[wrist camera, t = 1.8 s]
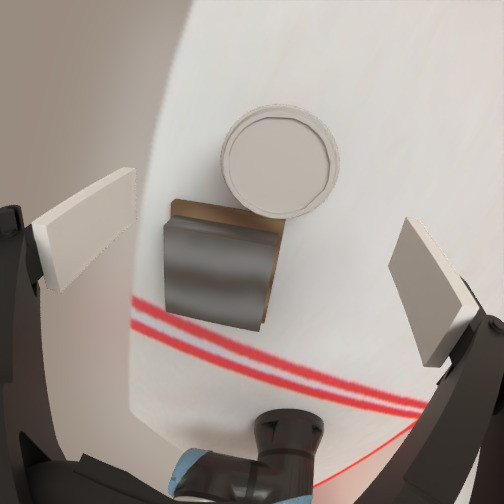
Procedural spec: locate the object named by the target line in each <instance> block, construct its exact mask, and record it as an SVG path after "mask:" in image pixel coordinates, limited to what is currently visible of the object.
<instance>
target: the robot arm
mask: <svg viewBox="0 0 504 504" xmlns="http://www.w3.org/2000/svg"><path fill="white" fill-rule="evenodd" d="M136 219H137V216H136V169H134V168H126V167H122V168H120V169H119V170H117V171H115V172H113V173H111V174H109V175H108V176H106V177H104V178H102V179H101V180H99V181H97V182H95V183H93V184H92V185H90V186H88V187H87V188H85V189H83V190H81V191H80V192H78V193H76V194H75V195H73V196H71V197H70V198H68V199H67V200H65V201H64V202H62V203H60V204H59V205H57V206H56V207H54V208H52V209H51V210H49V211H48V212H47V213H45V214H43V215H42V216H40V217H39V218H37V219H36V220H34V221H33V222H32V223H31V224H30V225H29V226H27V227H26V228H24V223H23V218H22V212H21V207H20V206H18V205H9V206H5V207H2V208H0V504H311V501H312V498H313V495H312V492H313V476H314V457H315V454H316V451H317V449H318V446H319V444H320V442H321V439H322V437H323V433H324V423H323V421H322V420H321V419H320V418H319V417H318V416H316V415H314V414H312V413H310V412H306V411H302V410H295V409H280V410H273V411H269V412H266V413H264V414H262V415H260V416H259V417H258V418H257V419H256V421H255V427H254V434H255V438H256V443H257V448H258V460H257V461H255V460H250V459H244V458H239V457H234V456H229V455H224V454H220V453H215V452H213V451H211V450H207V451H206V450H201V449H197V448H191V449H189V450H187V451H186V452H185V453H184V454H183V455H182V456H181V458H180V459H179V461H178V463H177V465H176V467H175V469H174V471H173V474H172V477H171V480H170V482H169V486H168V493H169V494H170V495H171V496H172V497H174V498H173V499H171V498H169V497H167V496H166V495H164V494H162V493H160V492H159V491H157V490H155V489H154V488H152V487H150V486H149V485H147V484H145V483H144V482H142V481H140V480H139V479H137V478H136V477H134V476H133V475H131V474H130V473H128V472H126V471H124V470H121V469H119V468H116V467H113V466H111V465H109V464H106V463H104V462H102V461H99V460H97V459H95V458H93V457H90V456H88V455H86V454H84V453H83V455H82V457H81V459H80V461H79V462H78V461H67V460H66V458H65V456H64V454H63V452H62V450H61V448H60V447H59V445H58V442H57V439H56V435H55V431H54V426H53V421H52V416H51V411H50V406H49V400H48V393H47V387H46V380H45V371H44V362H43V352H42V341H41V340H42V339H41V321H40V287H39V284H38V280H39V279H40V278H41V277H42V276H44V279H45V283H46V286H47V289H50V290H53V291H56V292H59V293H62V292H63V291H64V290H65V289H66V288H67V287H68V286H69V284H70V283H71V282H72V281H73V280H74V279H75V278H76V277H77V276H78V275H79V274H80V273H81V272H82V271H83V270H84V269H85V268H86V267H87V266H88V265H89V264H90V263H91V262H92V261H93V260H94V259H95V258H96V257H97V256H98V255H99V254H100V253H101V252H102V251H103V250H104V249H105V248H106V247H107V246H108V245H109V244H110V243H111V242H112V241H114V240H115V239H116V238H117V237H118V236H119V235H120V234H121V233H122V232H123V231H124V230H125V229H126V228H127V227H129V226H130V225H131V224H132V223H133V222H134V221H135V220H136ZM388 267H389V270H390V272H391V275H392V277H393V280H394V282H395V285H396V287H397V290H398V292H399V295H400V298H401V300H402V303H403V306H404V309H405V311H406V314H407V317H408V320H409V323H410V326H411V329H412V332H413V335H414V338H415V341H416V344H417V347H418V350H419V353H420V356H421V360H422V363H423V366H424V367H439V368H440V367H441V366H442V365H443V363H444V362H445V360H446V359H447V358H448V356H450V359H451V362H452V364H451V366H450V367H449V368H448V370H447V371H446V372H445V374H444V375H443V376H442V378H441V379H440V380H439V381H438V383H437V384H436V385H438V388H437V390H436V391H435V393H434V395H433V397H432V398H431V400H430V402H429V403H428V405H427V407H426V408H425V410H424V411H423V413H422V415H421V416H420V418H419V419H418V421H417V422H416V424H415V426H414V427H413V429H412V430H411V432H410V433H409V434H408V436H407V438H406V439H405V440H404V442H403V443H402V445H401V446H400V447H399V449H398V450H397V451H396V453H395V454H394V455H393V457H392V458H391V460H390V461H389V462H388V463H387V465H386V466H385V467H384V469H383V470H382V471H381V472H380V473H379V475H378V476H377V477H376V478H375V480H374V481H373V482H372V483H371V484H370V486H369V487H368V488H367V489H366V490H365V491H364V492H363V494H362V495H361V496H360V497H359V498H358V499H357V500H356V501H355V502H354V504H454V502H455V500H456V499H457V497H458V495H459V493H460V491H461V489H462V487H463V485H464V483H465V481H466V478H467V477H468V474H469V472H470V470H471V468H472V466H473V463H474V461H475V458H476V456H477V454H478V451H479V449H480V447H481V449H480V455H479V462H478V466H477V472H476V477H475V481H474V486H473V490H472V494H471V498H470V502H469V504H504V322H502V321H501V320H500V319H499V318H497V317H495V316H492V315H486V313H485V311H484V310H483V308H482V306H481V305H480V303H479V301H478V300H477V298H475V295H474V293H473V292H472V291H471V289H470V287H469V285H468V284H467V282H466V281H465V280H464V279H463V278H461V277H460V276H459V275H458V273H457V272H456V270H455V269H454V267H453V266H452V264H451V263H450V261H449V260H448V258H447V257H446V256H445V254H444V253H443V251H442V250H441V249H440V247H439V246H438V244H437V243H436V242H435V240H434V239H433V238H432V236H431V235H430V234H429V232H428V231H427V230H426V228H425V227H424V226H423V224H422V223H421V222H420V221H419V220H416V219H412V218H408V217H406V218H405V221H404V224H403V227H402V230H401V233H400V235H399V238H398V241H397V244H396V247H395V249H394V252H393V255H392V257H391V260H390V262H389V265H388Z"/></svg>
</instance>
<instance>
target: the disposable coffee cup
mask: <svg viewBox="0 0 504 504" xmlns="http://www.w3.org/2000/svg"><path fill="white" fill-rule="evenodd" d="M339 166H340V158H339V152H338V147H337V145H336V142H335V140H334V138H333V135H332V134H331V132H330V131H329V129H328V128H327V127H326V125H325V124H324V123H323V122H322V121H321V120H320V119H318V118H317V117H316V116H314V115H313V114H311V113H310V112H308V111H306V110H304V109H301V108H298V107H296V106H291V105H284V104H273V105H266V106H262V107H259V108H256V109H254V110H252V111H250V112H248V113H247V114H245V115H244V116H242V117H241V118H240V119H239V120H238V121H237V122H236V123H235V124H234V125H233V126H232V127H231V129H230V131H229V132H228V134H227V136H226V138H225V141H224V143H223V146H222V152H221V168H222V173H223V177H224V179H225V182H226V184H227V186H228V188H229V189H230V191H231V192H232V194H233V195H234V197H235V198H236V199H237V200H238V201H239V202H240V203H241V204H242V205H243V206H245V207H247V208H248V209H250V210H251V211H253V212H254V213H256V214H259V215H262V216H266V217H269V218H279V219H286V218H293V217H297V216H300V215H303V214H306V213H308V212H310V211H312V210H313V209H315V208H317V207H318V206H319V205H320V204H321V203H323V202H324V201H325V199H326V198H327V197H328V196H329V195H330V193H331V192H332V190H333V188H334V186H335V184H336V181H337V178H338V174H339Z"/></svg>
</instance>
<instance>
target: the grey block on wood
mask: <svg viewBox="0 0 504 504" xmlns="http://www.w3.org/2000/svg"><path fill="white" fill-rule="evenodd" d="M284 224H285V219H279V218H269V217H266V216H262V215H259V214H256V213H254V212H252V211H247V210H241V209H235V208H229V207H223V206H217V205H211V204H205V203H199V202H193V201H187V200H180V199H175V200H174V201H172V202H171V219H170V220H169V221H168V222H167V223H166V224H165V225H164V279H165V303H166V312H169V313H173V314H178V315H182V316H186V317H190V318H195V319H199V320H203V321H208V322H212V323H217V324H222V325H226V326H231V327H236V328H241V329H246V330H251V331H256V332H259V330H260V325H261V323H264V322H265V317H266V312H267V308H268V303H269V298H270V293H271V289H272V284H273V279H274V274H275V269H276V264H277V259H278V255H279V250H280V245H281V239H282V234H283V229H284Z"/></svg>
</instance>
